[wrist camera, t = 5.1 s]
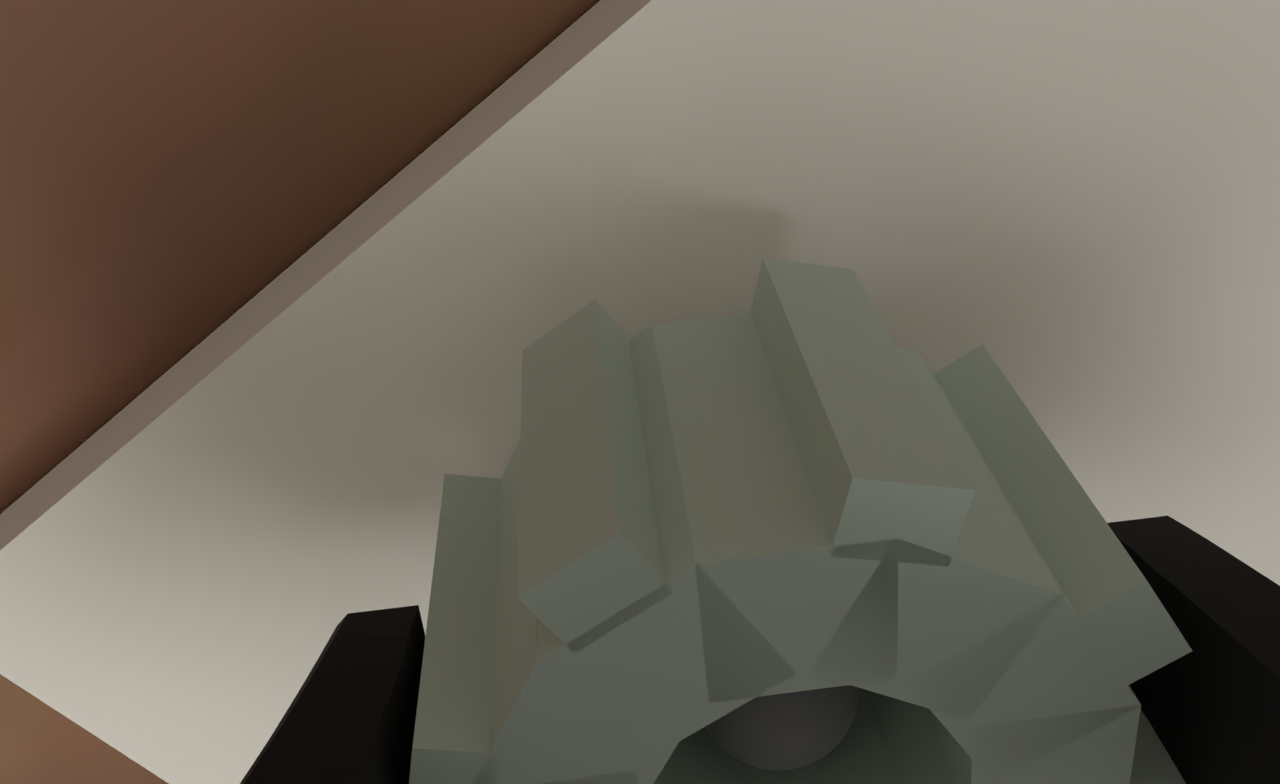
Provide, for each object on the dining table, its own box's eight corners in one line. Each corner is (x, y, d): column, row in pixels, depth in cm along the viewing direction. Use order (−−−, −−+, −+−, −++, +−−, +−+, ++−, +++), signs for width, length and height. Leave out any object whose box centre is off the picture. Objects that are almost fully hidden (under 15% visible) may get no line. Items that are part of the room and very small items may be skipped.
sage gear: (1130, 569, 12) (1314, 839, 9) (669, 826, 14) (704, 1132, 11) (841, 127, 10) (970, 309, 7) (309, 497, 11) (230, 779, 8)
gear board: (1674, 473, 16) (2147, 791, 12) (681, 1032, 21) (727, 1432, 16) (1248, -557, 10) (1873, -778, 6) (-29, 539, 15) (-296, 943, 10)
